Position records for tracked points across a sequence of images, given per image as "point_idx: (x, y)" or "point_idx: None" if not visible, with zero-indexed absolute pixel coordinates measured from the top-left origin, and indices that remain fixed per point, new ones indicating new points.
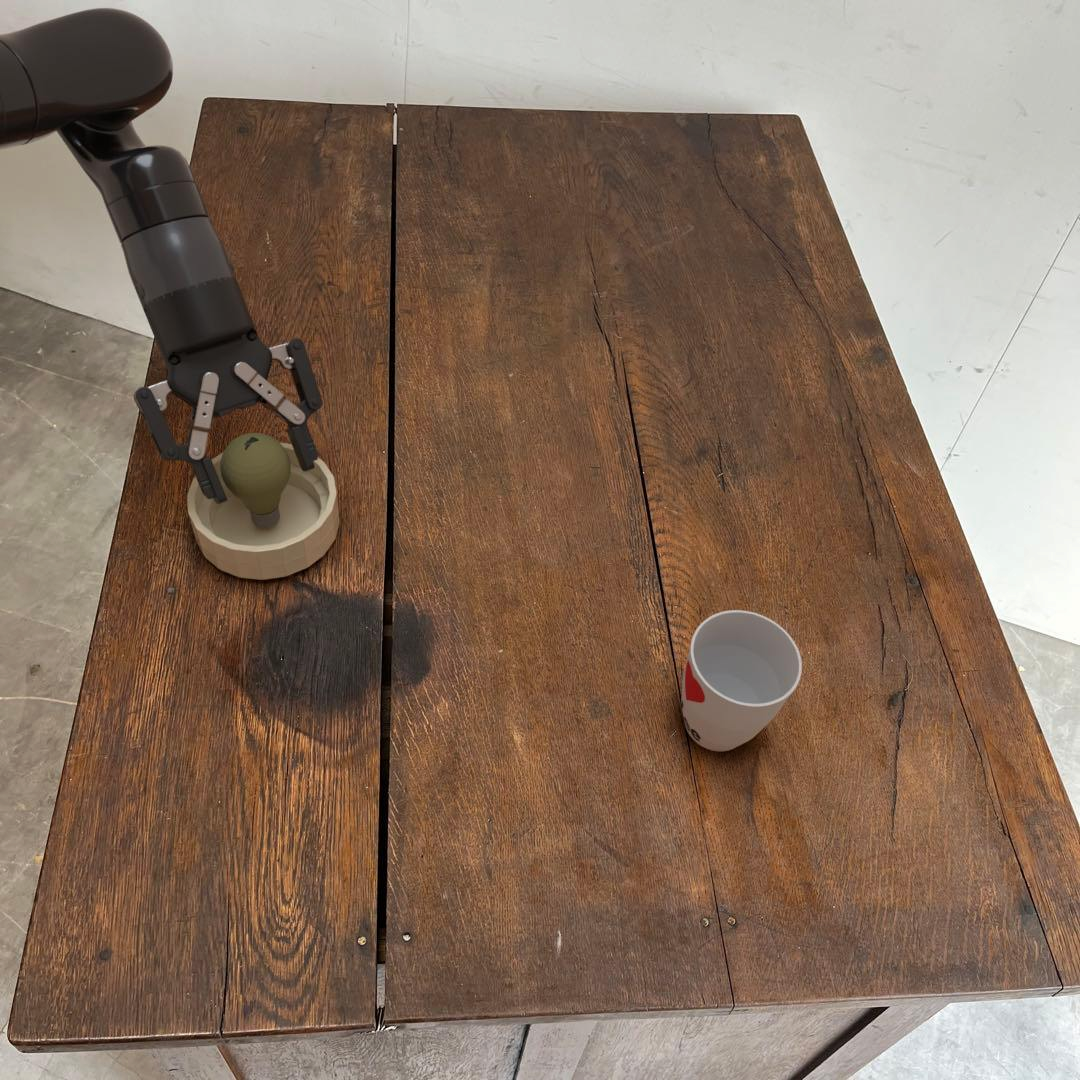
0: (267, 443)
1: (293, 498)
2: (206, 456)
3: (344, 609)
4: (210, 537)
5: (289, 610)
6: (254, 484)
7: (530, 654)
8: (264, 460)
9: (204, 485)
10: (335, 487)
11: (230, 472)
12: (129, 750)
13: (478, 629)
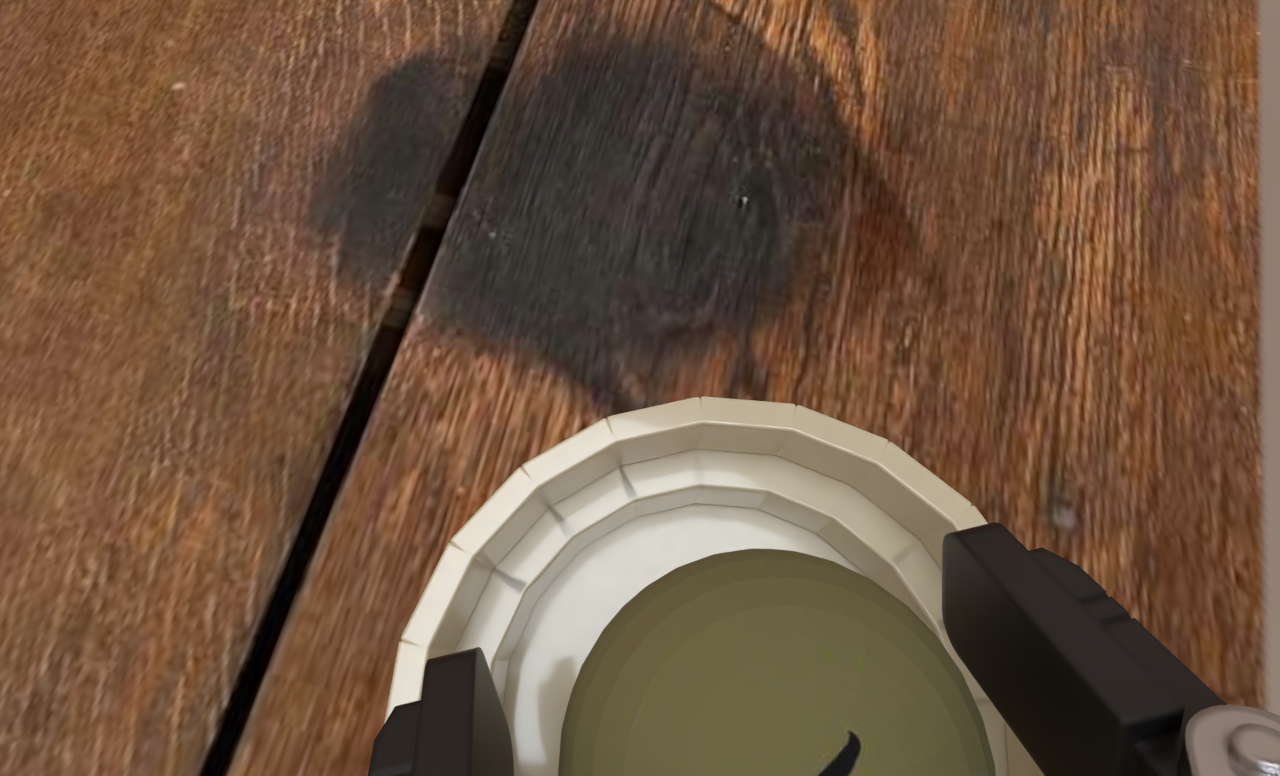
0: None
1: None
2: (1148, 756)
3: (537, 306)
4: (979, 525)
5: (698, 344)
6: (798, 554)
7: (113, 60)
8: (726, 632)
9: (1098, 604)
10: (392, 680)
11: (944, 654)
12: (1133, 63)
13: (200, 155)
